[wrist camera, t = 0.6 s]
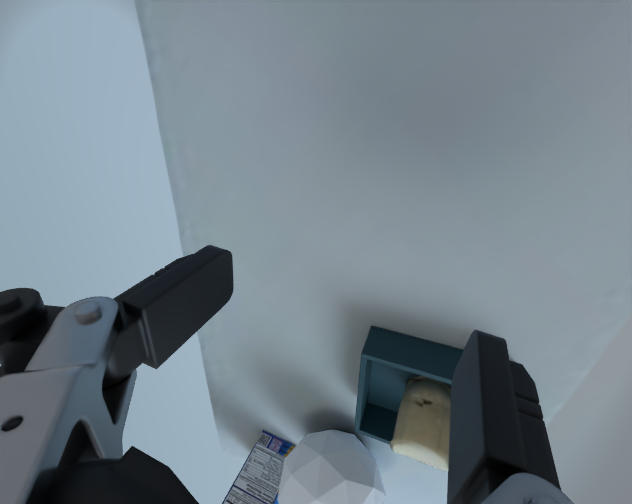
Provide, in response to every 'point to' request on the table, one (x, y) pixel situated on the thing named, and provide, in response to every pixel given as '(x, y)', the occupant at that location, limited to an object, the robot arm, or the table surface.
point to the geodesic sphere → (330, 472)
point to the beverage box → (261, 472)
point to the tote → (395, 377)
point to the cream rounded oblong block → (424, 422)
